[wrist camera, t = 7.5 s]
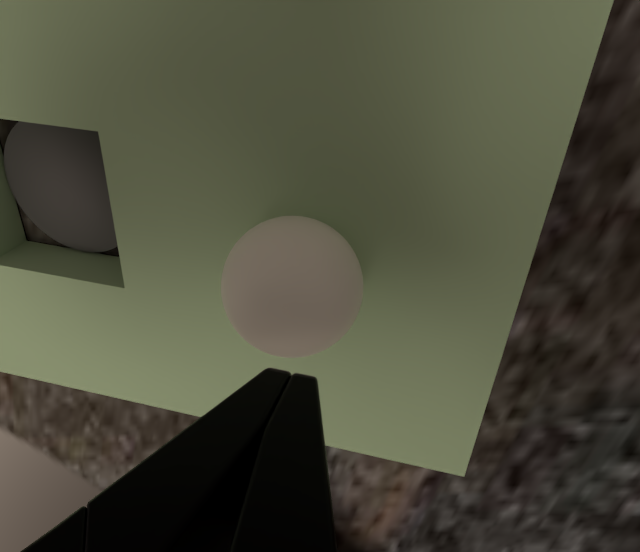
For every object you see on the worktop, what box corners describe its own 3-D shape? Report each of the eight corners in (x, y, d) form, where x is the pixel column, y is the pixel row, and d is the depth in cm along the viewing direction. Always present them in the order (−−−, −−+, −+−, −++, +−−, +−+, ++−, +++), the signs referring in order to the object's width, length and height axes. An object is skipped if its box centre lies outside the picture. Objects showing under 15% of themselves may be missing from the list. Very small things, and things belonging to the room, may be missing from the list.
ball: (407, 246, 10) (272, 279, 9) (376, 361, 12) (258, 408, 10) (320, 185, 13) (198, 202, 11) (305, 290, 14) (197, 319, 13)
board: (614, -73, 10) (639, -81, 8) (463, 437, 17) (464, 476, 15) (-160, -109, 13) (-234, -120, 11) (-5, 336, 20) (-38, 362, 18)
